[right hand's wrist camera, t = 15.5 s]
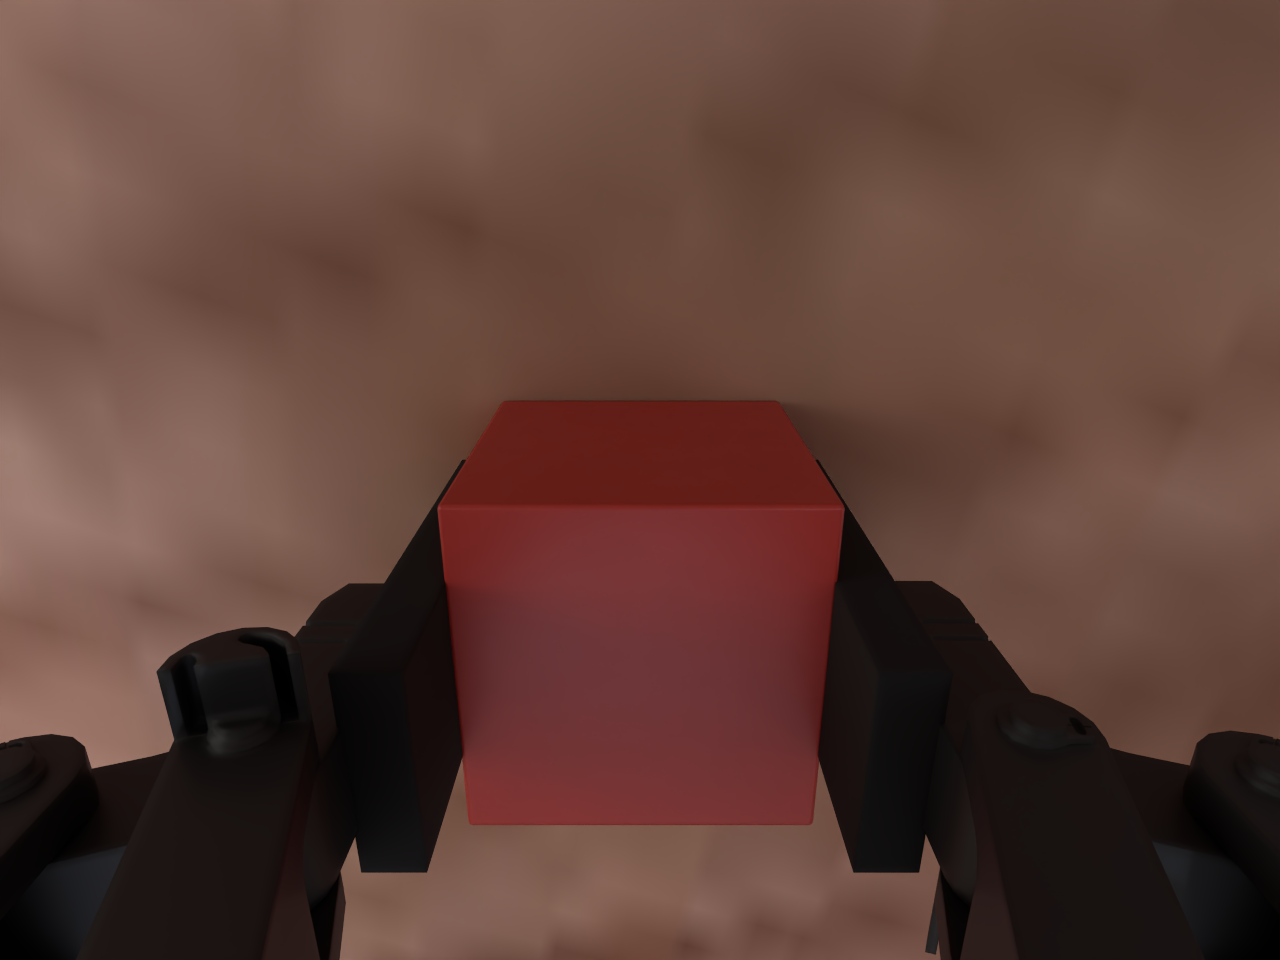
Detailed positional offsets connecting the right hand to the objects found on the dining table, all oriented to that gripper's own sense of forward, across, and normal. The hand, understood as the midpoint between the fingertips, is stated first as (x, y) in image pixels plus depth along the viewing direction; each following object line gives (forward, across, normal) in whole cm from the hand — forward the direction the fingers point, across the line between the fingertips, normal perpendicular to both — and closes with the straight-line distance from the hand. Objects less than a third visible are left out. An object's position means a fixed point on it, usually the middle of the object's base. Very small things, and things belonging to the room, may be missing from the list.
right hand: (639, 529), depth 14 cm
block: (0, 0, 0) cm, 0 cm away
